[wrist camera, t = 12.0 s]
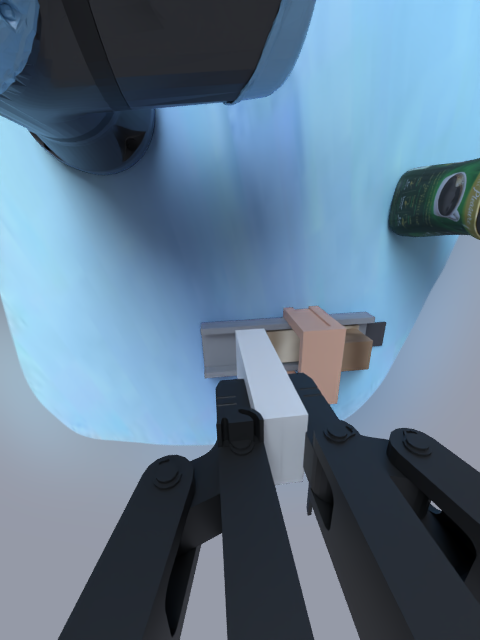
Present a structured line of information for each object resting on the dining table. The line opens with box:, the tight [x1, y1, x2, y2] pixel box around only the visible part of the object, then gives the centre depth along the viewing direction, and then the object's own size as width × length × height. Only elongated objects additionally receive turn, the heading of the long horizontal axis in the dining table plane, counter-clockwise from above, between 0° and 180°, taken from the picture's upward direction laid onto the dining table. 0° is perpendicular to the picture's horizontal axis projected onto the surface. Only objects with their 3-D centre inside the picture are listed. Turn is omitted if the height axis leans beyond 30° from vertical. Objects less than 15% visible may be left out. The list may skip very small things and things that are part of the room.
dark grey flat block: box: [365, 322, 386, 346], centre depth 49 cm, size 4×5×1 cm
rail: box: [201, 312, 375, 378], centre depth 46 cm, size 29×9×3 cm, turn 92°
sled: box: [266, 324, 373, 371], centre depth 44 cm, size 19×6×6 cm, turn 92°
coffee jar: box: [389, 158, 480, 240], centre depth 33 cm, size 10×8×19 cm
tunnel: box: [283, 306, 346, 404], centre depth 43 cm, size 6×12×10 cm, turn 2°
